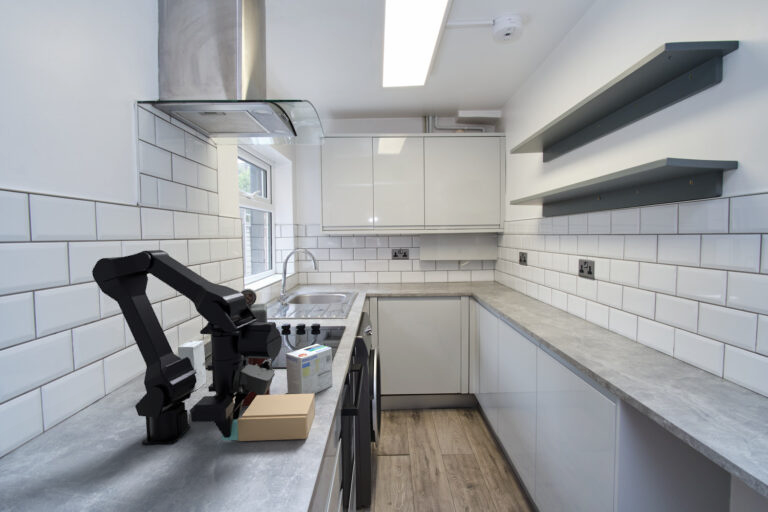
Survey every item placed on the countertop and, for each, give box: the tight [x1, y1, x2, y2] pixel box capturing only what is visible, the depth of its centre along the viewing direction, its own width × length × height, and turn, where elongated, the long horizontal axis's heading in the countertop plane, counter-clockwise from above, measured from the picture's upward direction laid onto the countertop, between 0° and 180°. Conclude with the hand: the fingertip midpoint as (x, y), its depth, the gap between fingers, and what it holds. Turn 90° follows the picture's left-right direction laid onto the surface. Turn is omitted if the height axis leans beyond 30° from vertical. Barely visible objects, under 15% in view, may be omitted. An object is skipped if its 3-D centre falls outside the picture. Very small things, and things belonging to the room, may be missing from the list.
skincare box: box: [177, 340, 207, 392], centre depth 94 cm, size 6×4×12 cm
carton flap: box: [221, 416, 307, 442], centre depth 68 cm, size 16×1×4 cm, turn 92°
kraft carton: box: [241, 393, 316, 439], centre depth 73 cm, size 13×9×5 cm
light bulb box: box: [285, 343, 333, 394], centre depth 91 cm, size 11×7×11 cm, turn 141°
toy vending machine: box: [232, 288, 271, 408], centre depth 86 cm, size 9×11×28 cm
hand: (230, 432), depth 68 cm, fingers open, 3 cm apart
